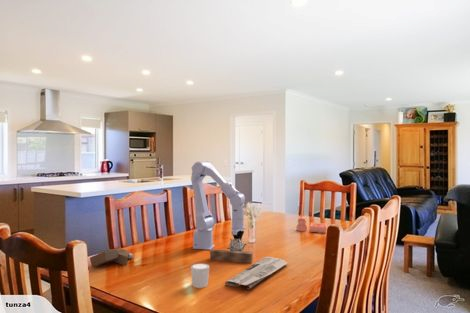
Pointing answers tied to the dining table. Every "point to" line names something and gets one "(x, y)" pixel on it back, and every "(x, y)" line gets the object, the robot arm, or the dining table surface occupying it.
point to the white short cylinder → (200, 275)
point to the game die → (236, 245)
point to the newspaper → (257, 272)
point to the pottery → (313, 228)
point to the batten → (231, 256)
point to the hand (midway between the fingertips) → (238, 246)
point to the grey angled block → (111, 257)
